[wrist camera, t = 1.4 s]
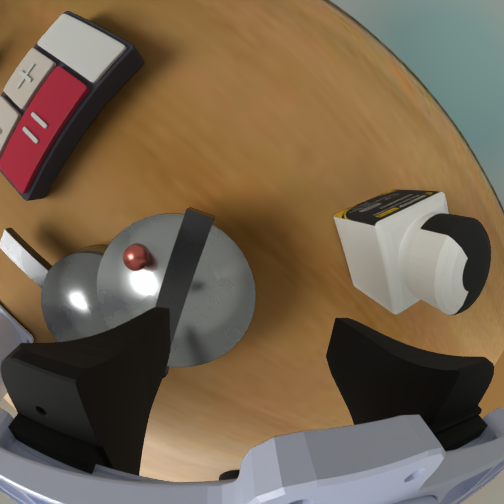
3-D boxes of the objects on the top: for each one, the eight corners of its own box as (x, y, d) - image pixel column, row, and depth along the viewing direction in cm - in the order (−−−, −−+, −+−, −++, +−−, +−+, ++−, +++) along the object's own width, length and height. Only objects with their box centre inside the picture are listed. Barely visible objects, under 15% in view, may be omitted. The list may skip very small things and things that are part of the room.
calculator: (-28, 141, 13) (62, 6, 11) (-2, 142, 17) (80, 23, 15) (21, 204, 16) (133, 41, 14) (48, 199, 20) (147, 62, 18)
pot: (144, 376, 23) (138, 398, 20) (9, 273, 19) (-10, 283, 16) (197, 300, 22) (195, 318, 19) (42, 185, 18) (20, 185, 15)
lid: (216, 391, 20) (218, 414, 18) (89, 348, 18) (76, 367, 15) (281, 240, 18) (292, 248, 16) (125, 183, 16) (111, 182, 13)
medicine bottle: (393, 188, 23) (496, 194, 11) (408, 256, 25) (500, 293, 13) (331, 214, 23) (429, 237, 11) (352, 287, 24) (437, 348, 13)
